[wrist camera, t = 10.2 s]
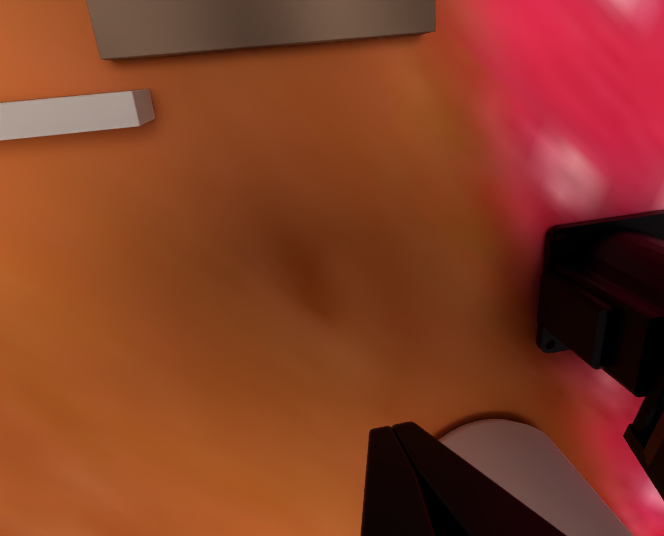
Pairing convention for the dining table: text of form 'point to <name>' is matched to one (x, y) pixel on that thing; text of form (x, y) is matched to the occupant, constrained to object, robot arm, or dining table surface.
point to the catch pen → (75, 114)
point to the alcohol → (535, 475)
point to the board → (247, 24)
